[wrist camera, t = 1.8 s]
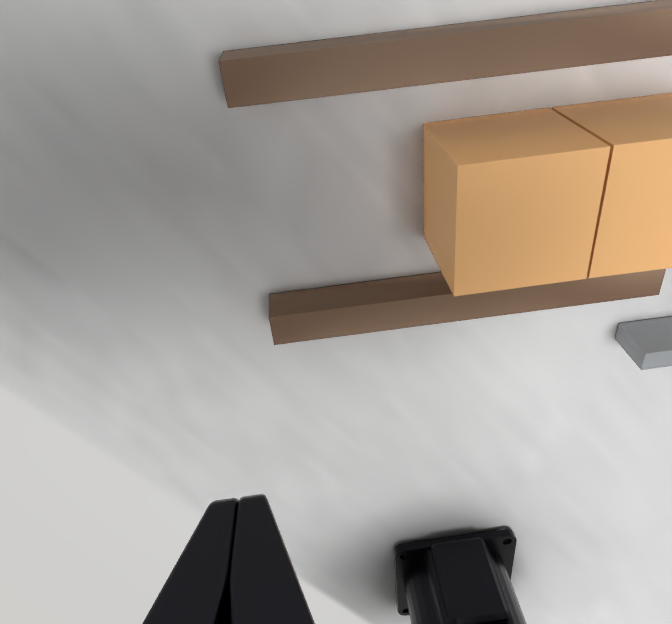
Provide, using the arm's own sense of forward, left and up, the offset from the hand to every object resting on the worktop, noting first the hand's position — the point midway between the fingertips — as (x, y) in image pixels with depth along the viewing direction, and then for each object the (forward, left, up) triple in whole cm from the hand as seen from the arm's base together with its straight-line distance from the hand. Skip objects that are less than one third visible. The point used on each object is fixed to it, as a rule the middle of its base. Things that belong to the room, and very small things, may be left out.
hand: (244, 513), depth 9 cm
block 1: (0, -8, -12) cm, 14 cm away
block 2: (0, -12, -12) cm, 17 cm away
